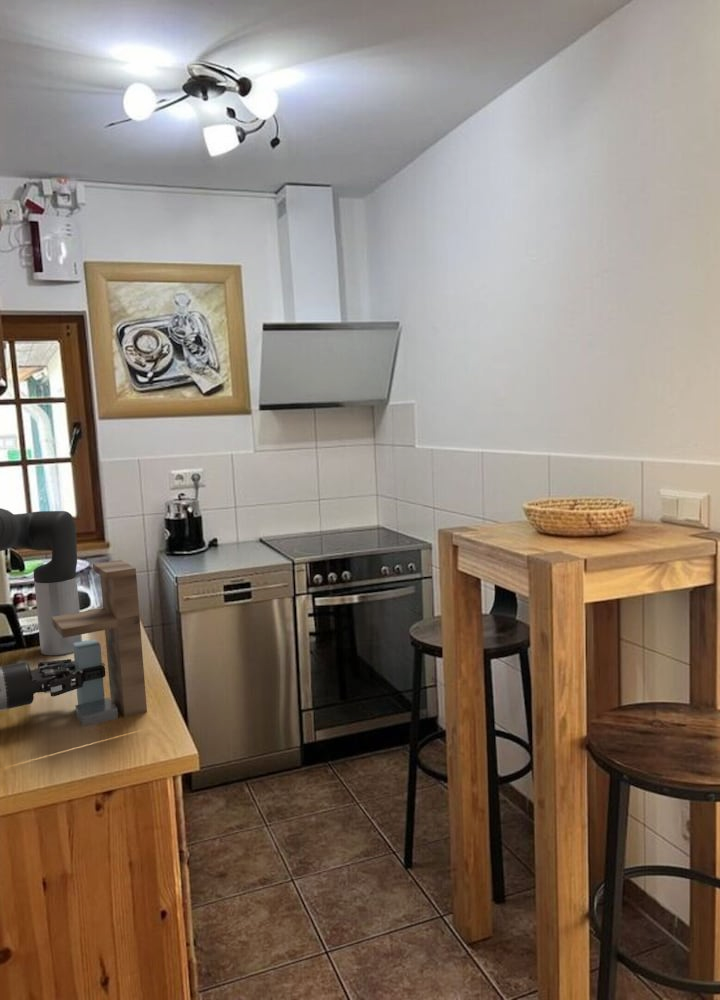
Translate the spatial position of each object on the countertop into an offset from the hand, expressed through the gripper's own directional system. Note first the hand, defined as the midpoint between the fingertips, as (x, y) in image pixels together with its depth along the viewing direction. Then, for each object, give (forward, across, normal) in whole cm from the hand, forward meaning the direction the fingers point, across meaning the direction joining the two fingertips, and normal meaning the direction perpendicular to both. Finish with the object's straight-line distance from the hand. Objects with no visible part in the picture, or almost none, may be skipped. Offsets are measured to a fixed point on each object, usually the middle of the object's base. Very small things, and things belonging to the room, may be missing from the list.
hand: (101, 667), depth 139 cm
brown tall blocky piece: (-1, -3, +8) cm, 8 cm away
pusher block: (-2, 0, +7) cm, 7 cm away
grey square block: (-2, -5, +8) cm, 10 cm away
